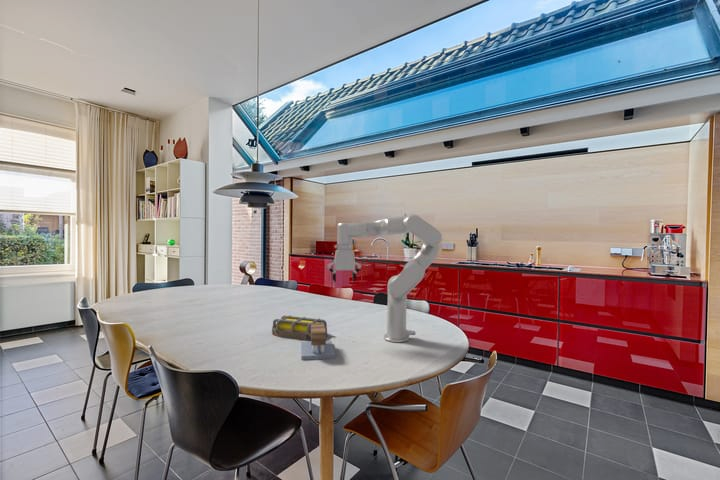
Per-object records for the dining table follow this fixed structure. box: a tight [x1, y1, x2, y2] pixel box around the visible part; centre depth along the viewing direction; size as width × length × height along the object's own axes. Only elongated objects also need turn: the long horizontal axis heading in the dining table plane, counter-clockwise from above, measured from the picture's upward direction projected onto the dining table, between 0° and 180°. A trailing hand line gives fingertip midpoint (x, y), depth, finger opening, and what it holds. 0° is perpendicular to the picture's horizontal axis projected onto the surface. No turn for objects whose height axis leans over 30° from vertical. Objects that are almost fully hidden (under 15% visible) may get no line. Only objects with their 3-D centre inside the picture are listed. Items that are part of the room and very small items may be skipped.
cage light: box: [271, 314, 328, 342], centre depth 170 cm, size 15×8×30 cm
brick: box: [311, 322, 327, 345], centre depth 145 cm, size 16×6×5 cm, turn 9°
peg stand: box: [300, 340, 336, 361], centre depth 145 cm, size 14×18×6 cm
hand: (344, 281), depth 165 cm, fingers open, 9 cm apart
